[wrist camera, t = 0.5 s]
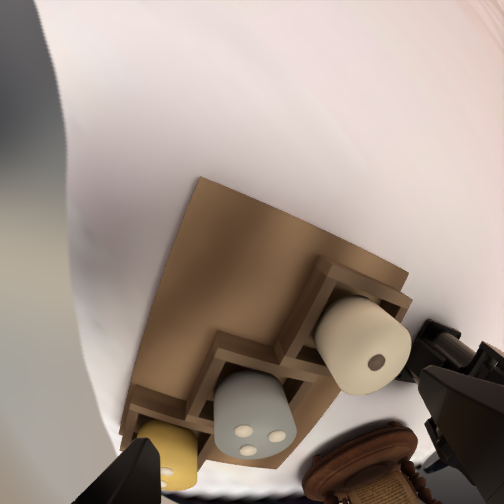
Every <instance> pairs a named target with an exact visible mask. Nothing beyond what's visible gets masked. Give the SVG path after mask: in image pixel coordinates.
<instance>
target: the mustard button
mask: <svg viewBox="0 0 504 504" xmlns="http://www.w3.org/2000/svg"><path fill="white" fill-rule="evenodd" d="M138 437H147V438H149V439H150V440H151V442H152V443H153V444H154V446H155V447H156V449H157V450H158V452H159V454H160V467H161V489H162V490H170V491H179V490H186V489H189V488H191V487H193V486H194V485H195V484H196V483H197V451H198V439H197V436H196V435H195V433H194V432H193V431H192V430H191V429H189V428H186V427H182V426H178V425H175V424H171V423H168V422H165V421H162V420H150V421H147V422H145V423H143V424H142V425H141V426H140V428H139V430H138V435H137V438H138Z"/></svg>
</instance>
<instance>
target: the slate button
mask: <svg viewBox="0 0 504 504" xmlns="http://www.w3.org/2000/svg"><path fill="white" fill-rule="evenodd" d="M296 434H297V429H296V425H295V422H294V419H293V416H292V413H291V410H290V407H289V404H288V401H287V398H286V395H285V392H284V389H283V386H282V384H281V382H280V381H279V380H278V378H276V377H275V376H274V375H272V374H270V373H268V372H264V371H260V370H242V371H238V372H235V373H232V374H230V375H228V376H226V377H225V378H223V379H222V380H221V381H220V382H219V383H218V384H217V386H216V388H215V390H214V438H215V444H216V446H217V447H218V449H219V450H221V451H222V452H223V453H225V454H227V455H229V456H231V457H234V458H239V459H249V460H251V459H261V458H266V457H270V456H273V455H275V454H278V453H280V452H281V451H283V450H285V449H286V448H287V447H288V446H290V444H291V443H292V442H293V441H294V439H295V437H296Z"/></svg>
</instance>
